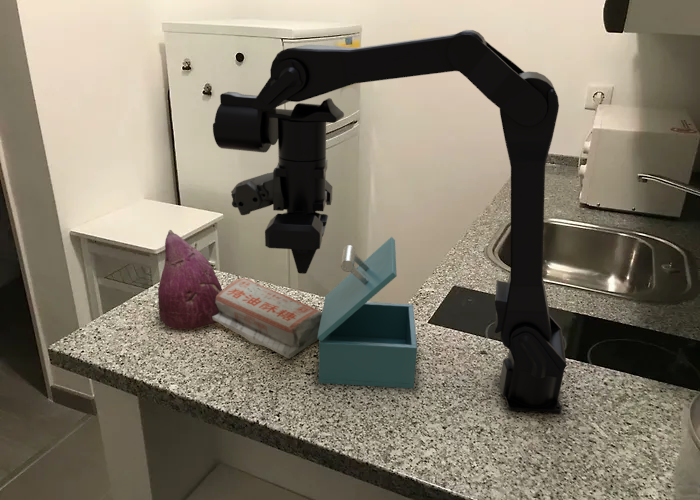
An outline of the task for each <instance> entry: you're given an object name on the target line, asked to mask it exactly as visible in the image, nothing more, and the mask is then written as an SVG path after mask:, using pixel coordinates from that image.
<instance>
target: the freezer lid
mask: <svg viewBox="0 0 700 500" xmlns="http://www.w3.org/2000/svg"><path fill="white" fill-rule="evenodd" d="M356 250H357V249H356V247H355V246H353V245H350V244H348V245H346V246H344V247H343V250H342V257H341V264H340V268H341V269H342V271H343V272H346V273H349V274H348V275H347V276H346V277H345V278H343V279H342V280H341V281H340V282H339V283H337V285H336V286H335V287H334V288H332V289H331V290H330V291H329V292H328V293H327V294H326V295H324V301H323V306H322V311H321V312H322V316H321V321H320V326H319V331H318V337H317V338H318V341H322V340H323V339H324V338H326V337H327V336H328V335H329V334H330V333H331V332H333V331H334V330H335V329H336V328H337V327H338V326H340V325H341V324H342V323H343V322H344V321H345V320H346V319H348V318H349V317H350V316H351V315H352V314H353V313H355V312H356V311H357V310H358V309H359V308H360V307H362V306H363V305H364V304H365V303H366V302H370V300H371V299H372V298H373V297H375V295H377V294H378V293H380V291H381V290H383V289H384V288H385V287H386V286H387V285H389V284H390V283H391V282H392V281H393V280H394V279H395V278H396V277H397V276H398V275H397V255H396V254H397V253H396V239H395V238H394V237H393V236H391V237H390V238H388V239H387V240H386V241H385V242H384V243H383V244H382V245H381V246H380V247H378V248H377V249H376V250H375V251H374V252H372V254H371V255H369V256H368V257H367V258H366V259H365V260H363V258H361V257H360V256H359V255H358V254H357V253H356V252H357V251H356ZM355 263H356V264H357V265H358V266H357V267H356V266H355Z"/></svg>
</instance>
